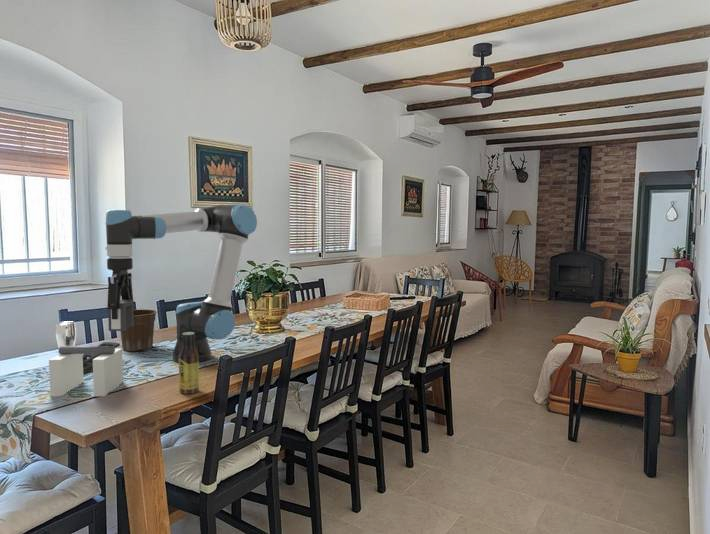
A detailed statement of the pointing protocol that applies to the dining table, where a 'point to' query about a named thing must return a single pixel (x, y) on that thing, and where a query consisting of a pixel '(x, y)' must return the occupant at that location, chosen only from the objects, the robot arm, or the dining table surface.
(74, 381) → the shelf stand
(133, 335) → the plant pot
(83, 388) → the dining table surface
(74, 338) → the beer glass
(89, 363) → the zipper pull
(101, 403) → the dining table surface
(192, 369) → the sauce bottle
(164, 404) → the dining table surface
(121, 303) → the grey block
